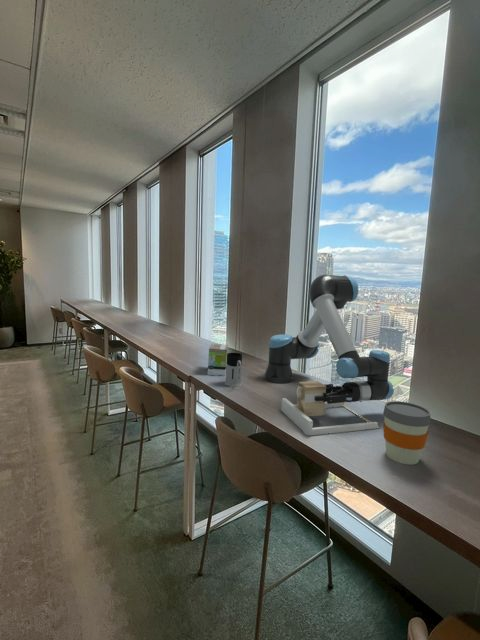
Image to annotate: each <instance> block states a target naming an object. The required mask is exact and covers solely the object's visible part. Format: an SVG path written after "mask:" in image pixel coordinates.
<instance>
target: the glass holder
mask: <svg viewBox="0 0 480 640" xmlns="http://www.w3.org/2000/svg"><path fill="white" fill-rule="evenodd" d="M242 376H243V354H242V353H239V352H228V354H227V363H226V374H225V381H224V385H225V386H226V385H227V387H231V388H237V387H241V386H243V382H242Z"/></svg>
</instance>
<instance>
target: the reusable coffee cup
mask: <svg viewBox="0 0 480 640" xmlns="http://www.w3.org/2000/svg"><path fill="white" fill-rule="evenodd" d="M382 414H383V416H384V420H383V422H382V424H383V428H382V429H383V438H384V440H385V454H386V456H387V457H388V458H389V459H391V460H392V461H394V462H396V463H400V464H403V465H409V466H410V465H417V464H419V461H420V459H421V454H422V451H423V449H424V448H425V446H426V443H427V440H428V436H429V430H428V428H429V426H430V424H431V411H430V410H429V409H427V408H425V407H423V406H421V405H419V404H415V403H411V402H405V401H399V400H398V401H397V400H396V401H394V400H393V401H392V400H391V401H388V402H386V403H385V404H384V407H383V413H382Z"/></svg>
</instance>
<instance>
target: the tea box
mask: <svg viewBox="0 0 480 640" xmlns="http://www.w3.org/2000/svg"><path fill="white" fill-rule="evenodd" d="M228 353H229V344H226V343H225V344H224V343H223V344H222V343H211V345H210V346H209V348H208V361H207V376H218V375H222V376H223V377H226V363H227V354H228Z"/></svg>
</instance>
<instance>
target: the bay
mask: <svg viewBox="0 0 480 640" xmlns="http://www.w3.org/2000/svg"><path fill="white" fill-rule="evenodd" d="M340 406H343V407H342V408H344V407H345V408H346V410H347V409H348V408H349V407H348V406H347V405H346V404H345V402H342V403H332V404H328V403H327V402H325V407H324V409H332V407H334V408H341V407H340ZM346 406H347V407H348V408H347V407H346ZM280 407H281V408H280V409H281V412H282V413H284V415H286V416H287V417H288V419H290V420H291V421H292V422H293V423H294V424H295V425H296V426H297V428H298V427H299V428H300V430H301V431H303V433H304V434H306V435H307V436H309V437H310V436H316V435H317V436H319V435H326V434H327V435H328V433H329V434H337V433H347V432H354V431H355V432H356V431H365V430H366V429H367V430H375V429H381V427H380V426H379V422H377V421H371V420H369V419H368V418H366V417H364V416H363V417H361V416H362V415H361V416H359V414H360V413H358V415H357V416H356V417H358V416H359V417H361V418H362V419H363V421H364V420H365V421H364V422H359V423H358V422H356V423H350V424H338V425H329V426H327V425H326V426H316V427H313V426H314V420H312V418H310V416H306V415H305V414H304V413H303V412H302V411H300V410H299V409H298V408H297V403H296V404H294V403H292V402H291V401H290V400H288V399H287V398H286V397H282V398H281V406H280ZM345 408H344V409H345ZM352 410H353V409H352ZM352 410H351V411H352ZM356 413H357V412H356ZM356 413H354V414H353V415H355V414H356ZM359 417H358V418H359ZM361 418H360V419H361ZM362 419H361V420H362ZM367 422H368V423H367ZM367 430H366V431H367Z"/></svg>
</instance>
